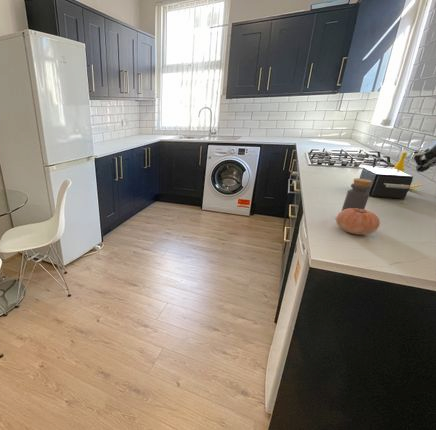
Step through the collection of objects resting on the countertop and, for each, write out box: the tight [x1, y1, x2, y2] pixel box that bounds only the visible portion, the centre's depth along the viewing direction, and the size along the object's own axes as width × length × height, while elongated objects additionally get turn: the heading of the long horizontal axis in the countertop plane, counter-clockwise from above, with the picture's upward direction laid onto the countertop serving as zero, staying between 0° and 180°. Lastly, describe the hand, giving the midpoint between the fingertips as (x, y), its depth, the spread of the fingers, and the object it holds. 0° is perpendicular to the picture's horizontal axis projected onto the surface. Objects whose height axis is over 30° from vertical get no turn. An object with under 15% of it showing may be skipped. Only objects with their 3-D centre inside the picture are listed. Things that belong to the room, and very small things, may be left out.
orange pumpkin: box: [335, 208, 381, 236], centre depth 90 cm, size 11×11×8 cm
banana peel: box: [392, 151, 423, 189], centre depth 138 cm, size 17×19×17 cm
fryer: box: [359, 166, 414, 200], centre depth 128 cm, size 15×13×10 cm
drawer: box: [371, 176, 414, 199], centre depth 124 cm, size 18×11×8 cm, turn 158°
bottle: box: [341, 177, 372, 211], centre depth 97 cm, size 6×6×15 cm
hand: (419, 169), depth 105 cm, fingers closed
